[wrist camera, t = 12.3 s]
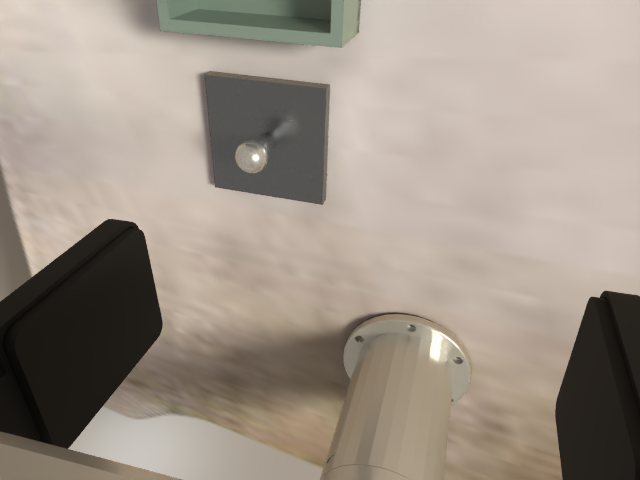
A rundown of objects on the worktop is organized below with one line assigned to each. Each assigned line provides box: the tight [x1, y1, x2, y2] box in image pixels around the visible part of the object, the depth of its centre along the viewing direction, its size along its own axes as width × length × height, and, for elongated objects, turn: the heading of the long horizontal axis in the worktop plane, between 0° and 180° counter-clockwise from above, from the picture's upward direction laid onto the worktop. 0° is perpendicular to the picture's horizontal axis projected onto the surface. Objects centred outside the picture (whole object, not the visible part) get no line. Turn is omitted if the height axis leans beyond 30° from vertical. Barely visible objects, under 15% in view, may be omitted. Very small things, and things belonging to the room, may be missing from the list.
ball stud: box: [205, 71, 330, 205], centre depth 42 cm, size 10×10×5 cm
